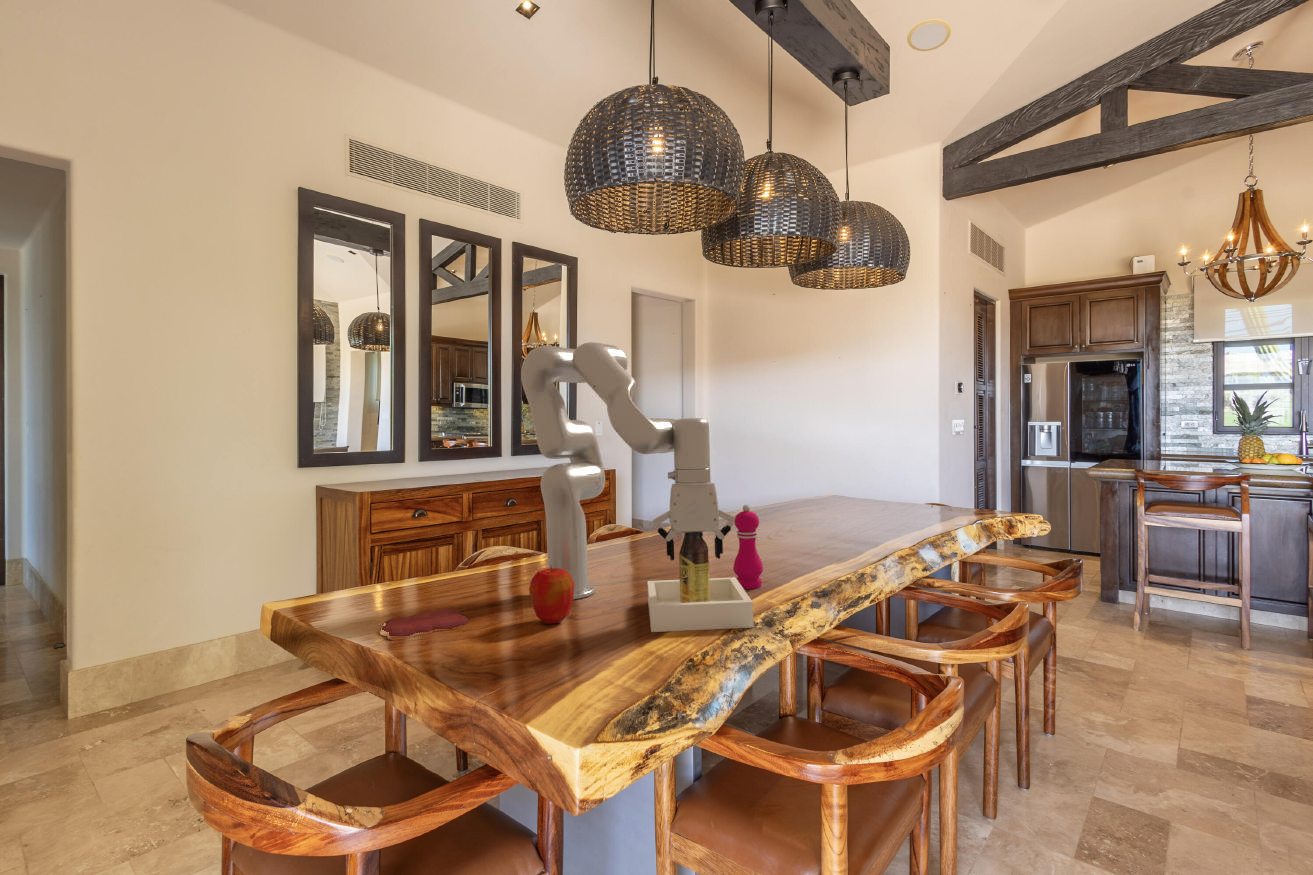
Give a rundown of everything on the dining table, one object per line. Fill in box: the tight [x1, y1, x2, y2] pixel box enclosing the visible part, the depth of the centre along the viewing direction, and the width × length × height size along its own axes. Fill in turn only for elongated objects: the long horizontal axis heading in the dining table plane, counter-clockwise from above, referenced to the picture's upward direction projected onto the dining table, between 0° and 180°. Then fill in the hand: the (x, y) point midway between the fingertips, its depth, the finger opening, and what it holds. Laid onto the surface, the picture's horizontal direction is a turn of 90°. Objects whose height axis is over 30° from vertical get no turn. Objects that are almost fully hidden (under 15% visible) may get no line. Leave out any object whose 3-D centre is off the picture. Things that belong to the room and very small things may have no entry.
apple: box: [528, 565, 575, 625], centre depth 128 cm, size 9×9×12 cm
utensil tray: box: [647, 576, 754, 633], centre depth 131 cm, size 20×20×5 cm
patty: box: [381, 608, 469, 636], centre depth 129 cm, size 18×14×2 cm
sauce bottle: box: [678, 532, 710, 603], centre depth 131 cm, size 6×6×20 cm
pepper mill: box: [733, 504, 764, 590], centre depth 152 cm, size 7×7×20 cm
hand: (694, 558), depth 131 cm, fingers open, 9 cm apart
